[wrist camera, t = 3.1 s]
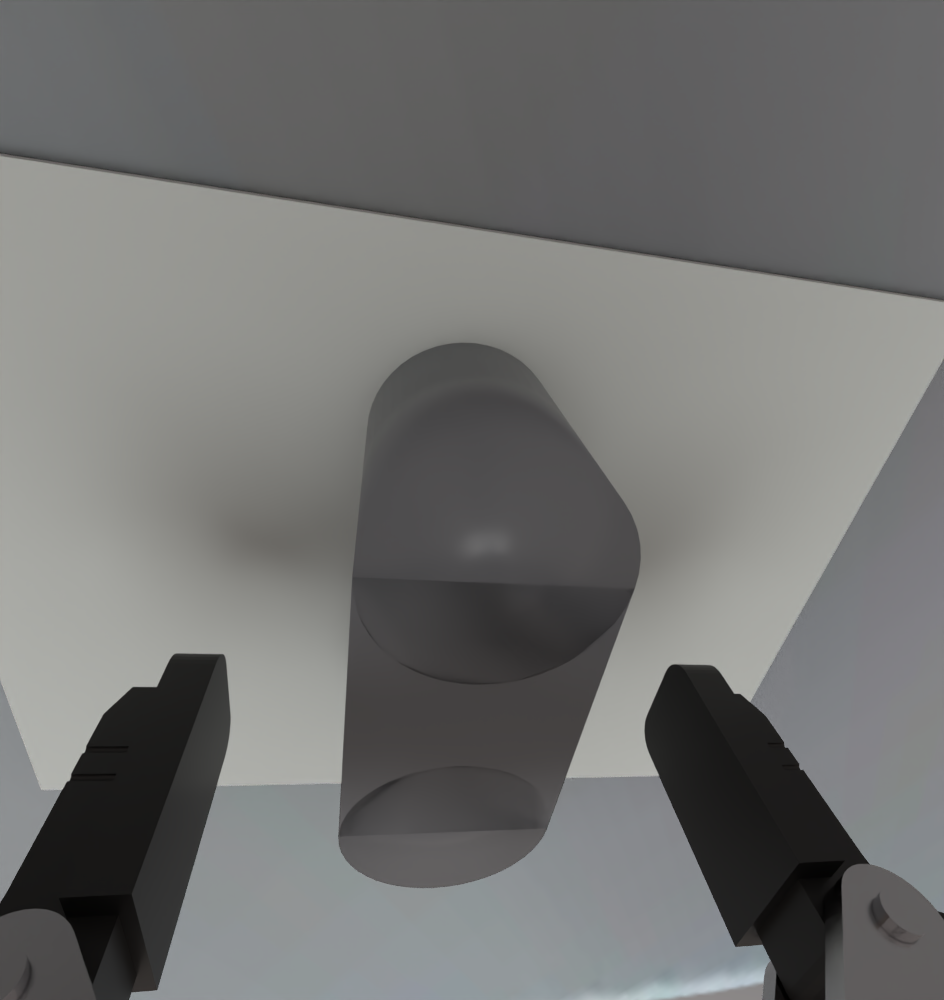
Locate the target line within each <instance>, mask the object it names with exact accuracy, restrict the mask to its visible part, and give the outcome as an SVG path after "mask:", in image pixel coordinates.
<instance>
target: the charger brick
mask: <svg viewBox="0 0 944 1000" xmlns="http://www.w3.org/2000/svg"><path fill="white" fill-rule="evenodd" d="M640 562H641V549H640V540H639V535H638V530H637V527H636V525H635V522H634V519H633V517H632V515H631V513H630V511H629V509H628V508H627V506H626V504H625V503H624V501H623V500H622V498H621V497H620V495H619V494H618V493H617V491H616V490H615V488H614V487H613V485H612V484H611V483H610V481H609V480H608V478H607V477H606V475H605V474H604V472H603V471H602V470H601V468H600V467H599V465H598V464H597V462H596V461H595V460H594V458H593V457H592V455H591V454H590V452H589V451H588V450H587V448H586V447H585V445H584V444H583V442H582V441H581V440H580V438H579V437H578V435H577V434H576V432H575V431H574V430H573V428H572V427H571V425H570V424H569V422H568V421H567V419H566V418H565V417H564V415H563V414H562V412H561V411H560V409H559V408H558V407H557V405H556V404H555V402H554V401H553V399H552V398H551V397H550V395H549V394H548V392H547V391H546V389H545V388H544V387H543V385H542V384H541V382H540V381H539V379H538V378H537V377H536V376H535V375H534V373H533V372H532V371H531V370H530V369H529V368H528V367H527V366H526V365H525V364H524V363H522V362H521V361H520V360H518V359H517V358H515V357H514V356H512V355H510V354H508V353H506V352H504V351H502V350H500V349H497V348H494V347H491V346H488V345H482V344H477V343H451V344H445V345H441V346H436V347H433V348H431V349H428V350H425V351H423V352H421V353H419V354H417V355H415V356H413V357H411V358H410V359H408V360H407V361H405V362H404V363H403V364H401V365H400V366H399V367H398V368H397V369H396V370H395V371H393V372H392V373H391V375H390V376H389V377H388V378H387V379H386V381H385V382H384V383H383V384H382V386H381V388H380V389H379V391H378V393H377V394H376V397H375V399H374V401H373V403H372V406H371V410H370V413H369V417H368V425H367V434H366V444H365V454H364V464H363V474H362V484H361V494H360V504H359V514H358V524H357V534H356V544H355V554H354V564H353V574H352V589H351V608H350V627H349V646H348V665H347V684H346V703H345V722H344V740H343V759H342V778H341V797H340V816H339V835H338V838H339V847H340V850H341V853H342V854H343V856H344V858H345V859H346V861H347V862H348V863H349V864H350V865H351V866H352V867H353V868H355V869H356V870H357V871H358V872H360V873H362V874H364V875H365V876H367V877H370V878H372V879H374V880H377V881H380V882H383V883H386V884H391V885H396V886H402V887H412V888H437V887H447V886H454V885H460V884H464V883H468V882H473V881H476V880H479V879H482V878H485V877H488V876H491V875H493V874H496V873H498V872H500V871H502V870H504V869H506V868H508V867H510V866H511V865H513V864H515V863H516V862H518V861H519V860H521V859H522V858H524V857H525V856H526V855H527V854H528V853H529V852H531V851H532V850H533V849H534V848H535V846H536V845H537V844H538V843H539V842H540V840H541V839H542V837H543V836H544V834H545V832H546V829H547V827H548V824H549V822H550V819H551V816H552V813H553V811H554V808H555V805H556V802H557V800H558V797H559V794H560V791H561V789H562V786H563V783H564V781H565V778H566V775H567V772H568V770H569V767H570V764H571V761H572V759H573V756H574V753H575V751H576V748H577V745H578V742H579V740H580V737H581V734H582V731H583V729H584V726H585V723H586V720H587V718H588V715H589V712H590V710H591V707H592V704H593V701H594V699H595V696H596V693H597V690H598V688H599V685H600V682H601V679H602V677H603V674H604V671H605V669H606V666H607V663H608V660H609V658H610V655H611V652H612V649H613V647H614V644H615V641H616V639H617V636H618V633H619V630H620V628H621V625H622V622H623V619H624V617H625V614H626V611H627V608H628V606H629V603H630V600H631V598H632V595H633V592H634V589H635V586H636V583H637V579H638V576H639V569H640Z"/></svg>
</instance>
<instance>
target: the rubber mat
mask: <svg viewBox="0 0 944 1000" xmlns="http://www.w3.org/2000/svg"><path fill="white" fill-rule="evenodd" d="M451 343H477V344H482V345H488V346H491V347H494V348H497V349H500V350H502V351H504V352H506V353H508V354H510V355H512V356H514V357H515V358H517V359H518V360H520V361H521V362H522V363H524V364H525V365H526V366H527V367H528V368H529V369H530V370H531V371H532V372H533V373H534V375H535V376H536V377H537V378H538V379H539V381H540V382H541V384H542V385H543V387H544V388H545V389H546V391H547V392H548V394H549V395H550V397H551V398H552V399H553V401H554V402H555V404H556V405H557V407H558V408H559V409H560V411H561V412H562V414H563V415H564V417H565V418H566V419H567V421H568V422H569V424H570V425H571V427H572V428H573V430H574V431H575V432H576V434H577V435H578V437H579V438H580V440H581V441H582V442H583V444H584V445H585V447H586V448H587V450H588V451H589V452H590V454H591V455H592V457H593V458H594V460H595V461H596V462H597V464H598V465H599V467H600V468H601V470H602V471H603V472H604V474H605V475H606V477H607V478H608V480H609V481H610V483H611V484H612V485H613V487H614V488H615V490H616V491H617V493H618V494H619V495H620V497H621V498H622V500H623V501H624V503H625V504H626V506H627V508H628V509H629V511H630V513H631V515H632V517H633V519H634V522H635V525H636V527H637V530H638V535H639V540H640V549H641V562H640V569H639V576H638V579H637V583H636V586H635V589H634V592H633V595H632V598H631V600H630V603H629V606H628V608H627V611H626V614H625V617H624V619H623V622H622V625H621V628H620V630H619V633H618V636H617V639H616V641H615V644H614V647H613V649H612V652H611V655H610V658H609V660H608V663H607V666H606V669H605V671H604V674H603V677H602V679H601V682H600V685H599V688H598V690H597V693H596V696H595V699H594V701H593V704H592V707H591V710H590V712H589V715H588V718H587V720H586V723H585V726H584V729H583V731H582V734H581V737H580V740H579V742H578V745H577V748H576V751H575V753H574V756H573V759H572V761H571V764H570V767H569V770H568V772H567V775H566V778H592V777H635V776H659V775H658V772H657V770H656V768H655V766H654V763H653V761H652V759H651V757H650V754H649V752H648V749H647V746H646V741H645V732H644V728H645V720H646V717H647V714H648V712H649V709H650V707H651V705H652V703H653V700H654V698H655V696H656V693H657V691H658V689H659V686H660V684H661V682H662V679H663V677H664V675H665V672H666V670H667V669H668V667H669V666H671V665H673V664H687V665H712V666H714V667H715V668H717V669H718V670H719V672H720V673H721V674H722V676H723V677H724V679H725V680H726V682H727V683H728V685H729V686H730V688H731V689H732V691H733V692H734V694H741V695H742V696H744V697H745V698H746V699H747V700H748V701H749V702H750V701H751V699H752V698H753V696H754V694H755V692H756V690H757V689H758V687H759V685H760V683H761V682H762V680H763V678H764V676H765V675H766V673H767V671H768V669H769V667H770V666H771V664H772V662H773V660H774V659H775V657H776V655H777V653H778V651H779V650H780V648H781V646H782V644H783V643H784V641H785V639H786V637H787V636H788V634H789V632H790V630H791V628H792V627H793V625H794V623H795V621H796V620H797V618H798V616H799V614H800V612H801V611H802V609H803V607H804V605H805V604H806V602H807V600H808V598H809V597H810V595H811V593H812V591H813V589H814V588H815V586H816V584H817V582H818V581H819V579H820V577H821V575H822V574H823V572H824V570H825V568H826V566H827V565H828V563H829V561H830V559H831V558H832V556H833V554H834V552H835V550H836V549H837V547H838V545H839V543H840V542H841V540H842V538H843V536H844V535H845V533H846V531H847V529H848V527H849V526H850V524H851V522H852V520H853V519H854V517H855V515H856V513H857V511H858V510H859V508H860V506H861V504H862V503H863V501H864V499H865V497H866V496H867V494H868V492H869V490H870V488H871V487H872V485H873V483H874V481H875V480H876V478H877V476H878V474H879V472H880V471H881V469H882V467H883V465H884V464H885V462H886V460H887V458H888V457H889V455H890V453H891V451H892V449H893V448H894V446H895V444H896V442H897V441H898V439H899V437H900V435H901V433H902V432H903V430H904V428H905V426H906V425H907V423H908V421H909V419H910V418H911V416H912V414H913V412H914V410H915V409H916V407H917V405H918V403H919V402H920V400H921V398H922V396H923V395H924V393H925V391H926V389H927V387H928V386H929V384H930V382H931V380H932V379H933V377H934V375H935V373H936V371H937V370H938V368H939V366H940V364H941V363H942V361H943V359H944V300H939V299H932V298H926V297H920V296H913V295H907V294H900V293H894V292H887V291H881V290H875V289H868V288H862V287H855V286H849V285H843V284H836V283H830V282H823V281H817V280H810V279H804V278H798V277H791V276H785V275H778V274H772V273H765V272H759V271H753V270H746V269H740V268H733V267H727V266H720V265H714V264H708V263H701V262H695V261H688V260H682V259H675V258H669V257H663V256H656V255H650V254H643V253H637V252H631V251H624V250H618V249H611V248H605V247H598V246H592V245H586V244H579V243H573V242H566V241H560V240H553V239H547V238H541V237H534V236H528V235H521V234H515V233H508V232H502V231H496V230H489V229H483V228H476V227H470V226H464V225H457V224H451V223H444V222H438V221H431V220H425V219H419V218H412V217H406V216H399V215H393V214H386V213H380V212H374V211H367V210H361V209H354V208H348V207H341V206H335V205H329V204H322V203H316V202H309V201H303V200H297V199H290V198H284V197H277V196H271V195H264V194H258V193H252V192H245V191H239V190H232V189H226V188H219V187H213V186H207V185H200V184H194V183H187V182H181V181H174V180H168V179H162V178H155V177H149V176H142V175H136V174H129V173H123V172H117V171H110V170H104V169H97V168H91V167H85V166H78V165H72V164H65V163H59V162H52V161H46V160H40V159H33V158H27V157H20V156H14V155H7V154H1V153H0V681H1V683H2V686H3V689H4V691H5V694H6V697H7V699H8V702H9V705H10V707H11V710H12V713H13V715H14V718H15V721H16V723H17V726H18V729H19V732H20V734H21V737H22V740H23V742H24V745H25V748H26V750H27V753H28V756H29V758H30V761H31V764H32V766H33V769H34V772H35V774H36V777H37V780H38V782H39V785H40V788H41V790H63V788H64V786H65V784H66V782H67V781H70V778H71V773H72V771H73V769H74V767H75V766H76V764H77V762H78V760H79V758H80V756H81V755H82V753H85V750H86V745H87V744H88V742H89V740H90V738H91V736H92V734H93V732H94V731H95V729H96V727H97V725H98V723H99V721H100V720H101V718H102V716H103V714H104V713H105V712H106V711H107V710H108V709H109V708H111V707H112V706H113V705H114V704H115V703H116V702H117V701H118V700H119V699H120V698H121V697H122V696H123V695H125V694H126V693H127V692H128V691H129V690H130V689H131V688H132V687H157V686H158V683H159V681H160V679H161V677H162V675H163V673H164V670H165V668H166V666H167V664H168V662H169V660H170V658H171V657H172V656H173V655H174V654H175V653H187V654H224V656H225V658H226V665H227V677H228V689H229V701H230V713H231V724H230V734H229V741H228V747H227V751H226V755H225V759H224V762H223V766H222V769H221V772H220V776H219V779H218V783H217V786H247V785H290V784H333V783H341V778H342V759H343V740H344V722H345V703H346V684H347V665H348V646H349V627H350V608H351V589H352V574H353V564H354V554H355V544H356V534H357V524H358V514H359V504H360V494H361V484H362V474H363V464H364V454H365V444H366V434H367V425H368V417H369V413H370V410H371V406H372V403H373V401H374V399H375V397H376V394H377V393H378V391H379V389H380V388H381V386H382V384H383V383H384V382H385V381H386V379H387V378H388V377H389V376H390V375H391V373H392V372H393V371H395V370H396V369H397V368H398V367H399V366H400V365H401V364H403V363H404V362H405V361H407V360H408V359H410V358H411V357H413V356H415V355H417V354H419V353H421V352H423V351H425V350H428V349H431V348H433V347H436V346H441V345H445V344H451Z"/></svg>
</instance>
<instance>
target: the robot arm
mask: <svg viewBox="0 0 944 1000" xmlns="http://www.w3.org/2000/svg"><path fill="white" fill-rule="evenodd" d="M230 724H231V713H230V701H229V689H228V677H227V665H226V658H225V656H224V654H187V653H175V654H174V655H173V656H172V657H171V658H170V660H169V662H168V664H167V666H166V668H165V670H164V673H163V675H162V677H161V679H160V681H159V683H158V686H157V687H132V688H131V689H130V690H129V691H128V692H127V693H126V694H125V695H123V696H122V697H121V698H120V699H119V700H118V701H117V702H116V703H115V704H114V705H113V706H112V707H111V708H109V709H108V710H107V711H106V712H105V713H104V714H103V716H102V718H101V720H100V721H99V723H98V725H97V727H96V729H95V731H94V732H93V734H92V736H91V738H90V740H89V742H88V744H87V745H86V750H85V753H82V755H81V756H80V758H79V760H78V762H77V764H76V766H75V767H74V769H73V771H72V773H71V778H70V781H67V782H66V784H65V786H64V788H63V790H62V791H61V793H60V795H59V797H58V799H57V801H56V803H55V804H54V806H53V808H52V810H51V812H50V814H49V815H48V817H47V819H46V821H45V823H44V825H43V827H42V828H41V830H40V832H39V834H38V836H37V838H36V839H35V841H34V843H33V845H32V847H31V849H30V851H29V852H28V854H27V856H26V858H25V860H24V862H23V863H22V865H21V867H20V869H19V871H18V873H17V874H16V876H15V878H14V880H13V882H12V884H11V886H10V887H9V889H8V891H7V893H6V894H5V896H4V898H3V899H2V901H1V903H0V1000H129V998H130V995H131V992H140V991H153V990H157V989H158V985H159V982H160V979H161V975H162V972H163V968H164V965H165V961H166V958H167V955H168V951H169V948H170V944H171V941H172V937H173V934H174V930H175V927H176V924H177V920H178V917H179V913H180V910H181V906H182V903H183V900H184V896H185V893H186V889H187V886H188V882H189V879H190V876H191V872H192V869H193V865H194V862H195V858H196V855H197V851H198V848H199V845H200V841H201V838H202V834H203V831H204V827H205V824H206V821H207V817H208V814H209V810H210V807H211V803H212V800H213V796H214V793H215V790H216V786H217V783H218V779H219V776H220V772H221V769H222V766H223V762H224V759H225V755H226V751H227V747H228V741H229V734H230ZM644 732H645V741H646V746H647V749H648V752H649V754H650V757H651V759H652V761H653V763H654V766H655V768H656V770H657V772H658V775H659V777H660V779H661V781H662V783H663V786H664V788H665V790H666V792H667V795H668V797H669V799H670V801H671V804H672V806H673V808H674V810H675V813H676V815H677V817H678V819H679V822H680V824H681V826H682V828H683V830H684V833H685V835H686V837H687V839H688V842H689V844H690V846H691V848H692V851H693V853H694V855H695V857H696V860H697V862H698V864H699V866H700V869H701V871H702V873H703V875H704V877H705V880H706V882H707V884H708V886H709V889H710V891H711V893H712V895H713V898H714V900H715V902H716V904H717V907H718V909H719V911H720V913H721V916H722V918H723V920H724V922H725V924H726V927H727V929H728V931H729V933H730V936H731V938H732V940H733V942H734V945H735V947H740V946H752V945H763V946H764V948H765V950H766V952H767V954H768V956H769V958H770V960H771V961H770V962H769V963H768V965H767V967H766V970H765V975H764V986H763V998H762V1000H944V913H941V912H938V911H937V910H936V909H935V908H934V907H933V905H932V904H931V903H930V902H929V901H928V900H927V899H926V898H925V897H924V896H923V895H922V894H921V893H920V892H919V891H918V890H917V889H915V888H914V887H913V886H912V885H911V884H909V883H908V882H906V881H905V880H904V879H902V878H901V877H899V876H897V875H896V874H894V873H892V872H890V871H888V870H886V869H884V868H881V867H878V866H875V865H870V864H869V863H868V862H867V860H866V859H865V858H864V856H863V855H862V854H861V852H860V851H859V849H858V848H857V847H856V845H855V844H854V842H853V841H852V839H851V838H850V837H849V835H848V834H847V832H846V831H845V829H844V828H843V826H842V825H841V824H840V822H839V821H838V819H837V818H836V816H835V815H834V814H833V812H832V811H831V809H830V808H829V806H828V805H827V803H826V802H825V801H824V799H823V798H822V796H821V795H820V793H819V792H818V791H817V789H816V788H815V786H814V785H813V783H812V782H811V780H810V779H809V778H808V776H807V775H806V773H805V772H804V770H800V768H799V763H798V762H797V760H796V759H795V757H794V756H793V755H792V753H791V752H790V750H789V749H788V748H785V747H784V742H783V740H782V739H781V737H780V736H779V734H778V733H777V732H776V730H775V729H774V727H773V726H772V724H771V723H770V722H769V720H768V719H767V717H766V716H765V715H764V714H763V713H762V712H760V711H759V710H758V709H757V708H756V707H755V706H754V705H753V704H751V703H750V702H749V701H748V700H747V699H746V698H745V697H744V696H742V695H741V694H734V692H733V691H732V689H731V688H730V686H729V685H728V683H727V682H726V680H725V679H724V677H723V676H722V674H721V673H720V672H719V670H718V669H717V668H715V667H714V666H712V665H687V664H673V665H671V666H669V667H668V669H667V670H666V672H665V675H664V677H663V679H662V682H661V684H660V686H659V689H658V691H657V693H656V696H655V698H654V700H653V703H652V705H651V707H650V709H649V712H648V714H647V717H646V720H645V728H644Z"/></svg>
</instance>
